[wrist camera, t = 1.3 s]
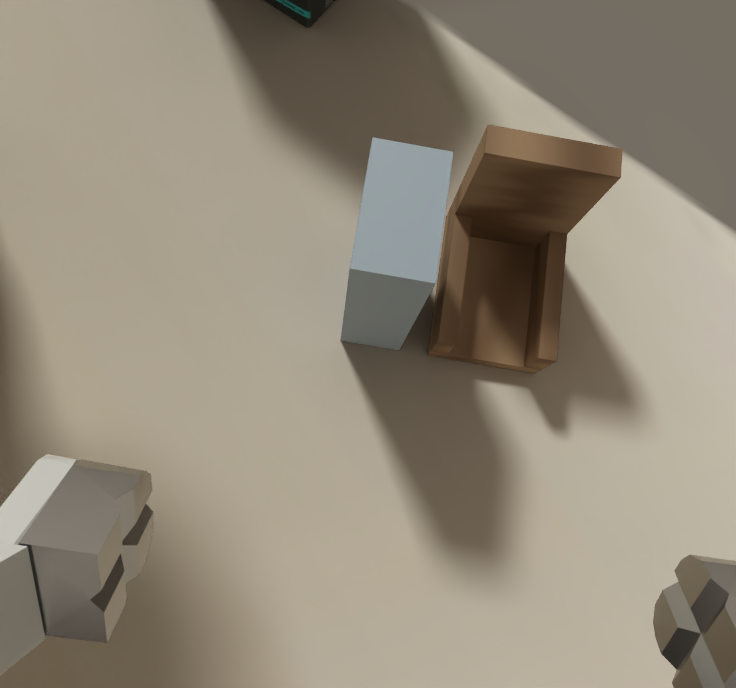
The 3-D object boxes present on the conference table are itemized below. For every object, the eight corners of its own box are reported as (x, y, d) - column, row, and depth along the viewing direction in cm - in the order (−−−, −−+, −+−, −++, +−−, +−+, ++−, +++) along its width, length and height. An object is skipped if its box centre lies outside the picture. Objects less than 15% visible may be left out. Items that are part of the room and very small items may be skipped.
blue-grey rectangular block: (340, 340, 36) (349, 268, 25) (356, 246, 38) (372, 137, 26) (398, 350, 36) (435, 283, 25) (413, 256, 38) (453, 151, 26)
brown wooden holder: (427, 355, 36) (465, 305, 27) (446, 216, 39) (487, 124, 29) (534, 373, 37) (611, 330, 27) (547, 234, 39) (622, 149, 29)
